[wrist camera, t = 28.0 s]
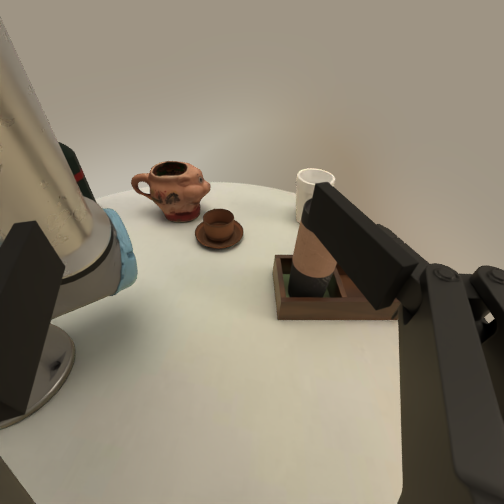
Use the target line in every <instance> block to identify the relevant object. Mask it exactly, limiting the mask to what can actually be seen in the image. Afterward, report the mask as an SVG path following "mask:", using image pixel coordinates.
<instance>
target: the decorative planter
mask: <svg viewBox="0 0 504 504" xmlns="http://www.w3.org/2000/svg"><path fill="white" fill-rule="evenodd" d="M141 181H143V182H146V183H147V184H148V185H149V186H150V194H146V193H143V192H142V191H140V190H139V188H138V183H139V182H141ZM131 184H132V187H133V188H134V190H135V191H136V192H137V193H139V194H142V195H144V196H146V197H147V198H149V199H151V200H153V202H154V203H155V204H157V205H158V206H159V207H160V208H161V210H162V211H163V213H164V214H165V217H166V218H167V219H168V220H170V221H174V222H187V221H191V220H194V219H195V218H197V217H198V216H199V214H200V201H201V199H202V198H203V197H204V196H205V195H206V194H207V193H208V192H209V191H210V184H209V183H208V182H206V181H205V180H204V178H203V175H202V172H201V171H200V169H198V168H196V167H194V166H192V165H191V164H189V163H183V162H177V161H166V162H161V163H159V164H156V165H155V166H153V167H152V168H151V170H150V173H147V174H137V175H135V176H134V177H133V178H132V181H131Z"/></svg>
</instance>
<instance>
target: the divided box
mask: <svg viewBox="0 0 504 504" xmlns="http://www.w3.org/2000/svg"><path fill="white" fill-rule="evenodd" d="M292 259H293V255H275V259H274V267H273V281H274V290H275V299H276V307H277V316H278V320H392V319H391V318H392V315H393V313H394V312H395V311H396V309H397V308H398V306H399V305H400V301H399V300H398V299H397V298H395V300H394V302H393V303H392V305H391V306H390V307H387V308H384V309H380V310H377V311H376V310H375V309H374V308H373V306H372V305H371V304H370V303H369V301H368V300H367V299H366V298H365V296H364V295H363V294H362V293H361V292H360V290H359V289H358V288H357V287H356V285H355V284H354V283H353V282H352V280H351V279H350V278H349V277H348V275H347V274H346V273H345V272H344V270H343V269H342V268H341V267H340V265H339V264H338V263H337V264H336V267H335V269H334V272H333V274H332V277H331V279H330V282H329V284H328V286H327V289H326V291H325V294H324V296H323V298H318V297H290V296H289V294H288V284H289V278H290V271H291V265H292ZM397 319H398V315H397V316H396V317H395V319H394V320H397Z"/></svg>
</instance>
